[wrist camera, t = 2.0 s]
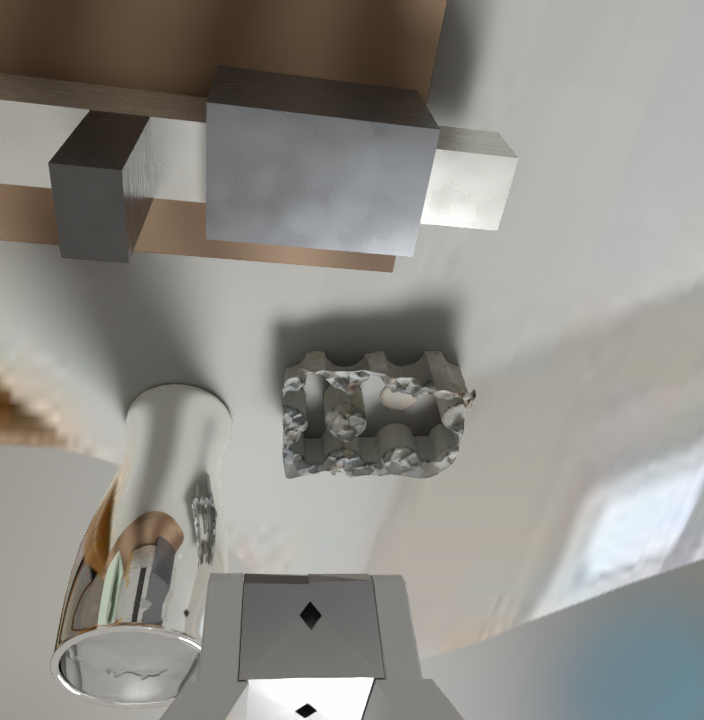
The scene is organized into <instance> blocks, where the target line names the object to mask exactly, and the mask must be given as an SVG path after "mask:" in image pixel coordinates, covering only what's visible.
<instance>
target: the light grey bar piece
mask: <svg viewBox="0 0 704 720" xmlns="http://www.w3.org/2000/svg"><path fill="white" fill-rule="evenodd" d="M207 100H208V98H203V97H195V96H186V95H178V94H170V93H161V92H153V91H144V90H136V89H127V88H119V87H111V86H102V85H94V84H85V83H77V82H68V81H60V80H52V79H43V78H35V77H26V76H18V75H9V74H1V73H0V184H10V185H21V186H31V187H42V188H52V194H53V201H54V208H55V215H56V222H57V229H58V236H59V243H60V250H61V257H62V258H73V259H86V260H98V261H111V262H123V263H129V261H130V259H131V256H132V253H133V251H134V248H135V246H136V243H137V241H138V238H139V235H140V233H141V230H142V228H143V225H144V223H145V220H146V217H147V215H148V212H149V210H150V207H151V205H152V202H153V199H154V198H158V199H169V200H179V201H190V202H201V203H206V120H207ZM438 127H439V128H440V134H439V138H438V143H437V148H436V152H435V157H434V161H433V166H432V170H431V175H430V180H429V184H428V189H427V193H426V198H425V202H424V207H423V212H422V216H421V221H420V223H423V224H433V225H444V226H454V227H465V228H475V229H486V230H498V226H499V223H500V220H501V216H502V213H503V210H504V206H505V203H506V200H507V196H508V193H509V189H510V186H511V183H512V179H513V176H514V173H515V169H516V166H517V163H518V159H519V158H518V157H517V155H516V154H515V153H514V152H513V151H512V149H511V148H510V147H509V146H508V144H507V143H506V142H505V141H504V139H503V138H502V137H501V136H500V134H499V133H498V132H490V131H481V130H473V129H465V128H456V127H448V126H439V125H438Z"/></svg>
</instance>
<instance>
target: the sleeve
mask: <svg viewBox="0 0 704 720" xmlns="http://www.w3.org/2000/svg"><path fill="white" fill-rule="evenodd" d="M439 134H440V128H439V127H438V125H437V123H436V122H435V120H434V118H433V117H432V115H431V113H430V112H429V110H428V108H427V107H426V105H425V103H424V101H423V100H422V98H421V96H420V95H419V93H418V91H417V90H409V89H402V88H394V87H386V86H378V85H370V84H362V83H354V82H346V81H338V80H330V79H322V78H314V77H307V76H299V75H291V74H283V73H275V72H267V71H259V70H251V69H243V68H235V67H227V66H220V65H218V69H217V72H216V75H215V78H214V81H213V84H212V87H211V90H210V93H209V96H208V100H207V120H206V239H210V240H222V241H233V242H245V243H256V244H268V245H280V246H291V247H303V248H314V249H326V250H338V251H349V252H361V253H372V254H384V255H395V256H407V257H413V253H414V248H415V244H416V239H417V235H418V230H419V225H420V221H421V216H422V212H423V207H424V202H425V198H426V193H427V189H428V184H429V180H430V175H431V170H432V166H433V161H434V157H435V152H436V148H437V143H438V138H439Z"/></svg>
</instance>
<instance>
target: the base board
mask: <svg viewBox="0 0 704 720" xmlns="http://www.w3.org/2000/svg"><path fill="white" fill-rule="evenodd" d="M446 4H447V0H0V73H1V74H9V75H18V76H26V77H35V78H43V79H52V80H60V81H68V82H77V83H85V84H94V85H102V86H111V87H119V88H127V89H136V90H144V91H153V92H161V93H170V94H178V95H186V96H195V97H203V98H208V96H209V93H210V90H211V87H212V84H213V81H214V78H215V75H216V72H217V69H218V65H220V66H227V67H235V68H243V69H251V70H259V71H267V72H275V73H283V74H291V75H299V76H307V77H314V78H322V79H330V80H338V81H346V82H354V83H362V84H370V85H378V86H386V87H394V88H402V89H409V90H417V91H418V93H419V95H420V96H421V98H422V100H423V101H424V103H425V105H426V103H427V98H428V93H429V88H430V83H431V78H432V73H433V68H434V63H435V58H436V53H437V48H438V43H439V38H440V33H441V28H442V23H443V18H444V14H445V9H446ZM0 240H4V241H16V242H28V243H40V244H52V245H60V243H59V236H58V229H57V222H56V215H55V208H54V201H53V194H52V188H42V187H31V186H21V185H10V184H0ZM134 251H138V252H150V253H162V254H174V255H186V256H198V257H210V258H223V259H235V260H247V261H259V262H271V263H283V264H296V265H308V266H320V267H332V268H344V269H356V270H369V271H381V272H393V267H394V262H395V257H396V256H395V255H384V254H372V253H361V252H349V251H338V250H326V249H314V248H303V247H291V246H280V245H268V244H256V243H245V242H233V241H222V240H210V239H206V203H201V202H190V201H179V200H169V199H158V198H154V199H153V202H152V205H151V207H150V210H149V212H148V215H147V217H146V220H145V223H144V225H143V228H142V230H141V233H140V235H139V238H138V241H137V243H136V246H135V248H134Z"/></svg>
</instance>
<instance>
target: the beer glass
mask: <svg viewBox="0 0 704 720" xmlns="http://www.w3.org/2000/svg"><path fill="white" fill-rule="evenodd" d="M231 433H232V420H231V416H230V413H229V411H228V409H227V408H226V406H225V405H224V404H223V403H222V402H221V401H220V400H219V399H218V398H217V397H216V396H214V395H213V394H211V393H209V392H207V391H205V390H203V389H201V388H198V387H194V386H190V385H184V384H167V385H161V386H157V387H154V388H151V389H149V390H147V391H145V392H143V393H142V394H140V395H139V396H138V397H137V398H136V399H135V400H134V401H133V403H132V404H131V406H130V407H129V410H128V412H127V417H126V429H125V451H124V455H123V459H122V461H121V464H120V467H119V469H118V471H117V473H116V475H115V477H114V479H113V481H112V483H111V484H110V486H109V488H108V490H107V492H106V494H105V495H104V497H103V499H102V501H101V503H100V505H99V507H98V509H97V510H96V512H95V514H94V516H93V518H92V520H91V522H90V525H89V527H88V529H87V531H86V533H85V535H84V538H83V540H82V542H81V545H80V547H79V550H78V553H77V556H76V559H75V562H74V565H73V568H72V571H71V575H70V579H69V582H68V586H67V590H66V594H65V598H64V603H63V608H62V612H61V617H60V622H59V627H58V633H57V638H56V643H55V648H54V652H53V655H52V658H51V661H50V670H51V674H52V676H53V678H54V679H55V681H56V682H57V683H58V684H59V685H60V686H61V687H62V688H63V689H64V690H66V691H67V692H69V693H70V694H72V695H74V696H76V697H78V698H80V699H83V700H85V701H89V702H92V703H95V704H99V705H103V706H108V707H116V708H126V709H144V708H156V707H162V706H167V705H171V703H172V702H173V701H174V699H175V698H176V696H177V695H178V694H179V692H180V691H181V690H182V688H183V687H184V686H185V684H186V683H187V682H197V679H198V670H199V661H200V651H201V642H202V633H203V623H204V614H205V604H206V595H207V586H208V581H209V577H210V573H228V561H229V560H228V559H229V557H228V540H227V529H226V520H225V512H224V505H223V497H222V488H221V466H222V461H223V457H224V454H225V451H226V449H227V446H228V443H229V440H230V437H231Z"/></svg>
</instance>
